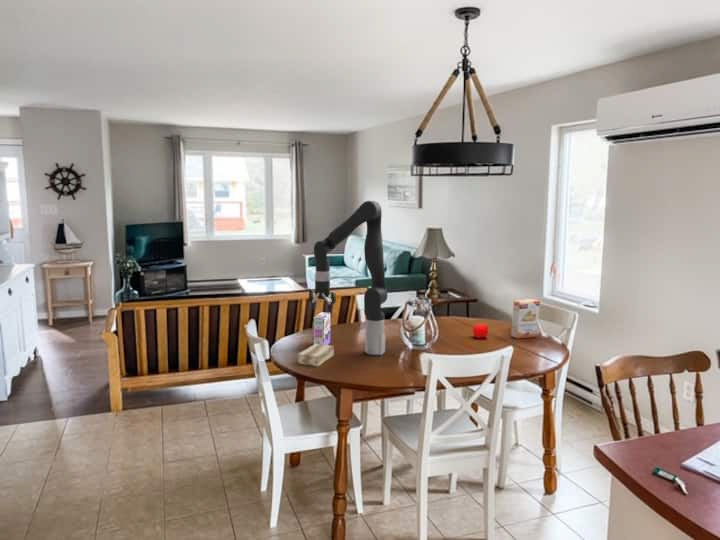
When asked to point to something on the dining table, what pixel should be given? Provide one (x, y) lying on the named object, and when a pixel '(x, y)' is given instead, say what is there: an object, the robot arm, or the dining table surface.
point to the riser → (315, 354)
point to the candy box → (321, 329)
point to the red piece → (480, 331)
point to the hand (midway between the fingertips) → (322, 310)
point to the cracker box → (525, 318)
